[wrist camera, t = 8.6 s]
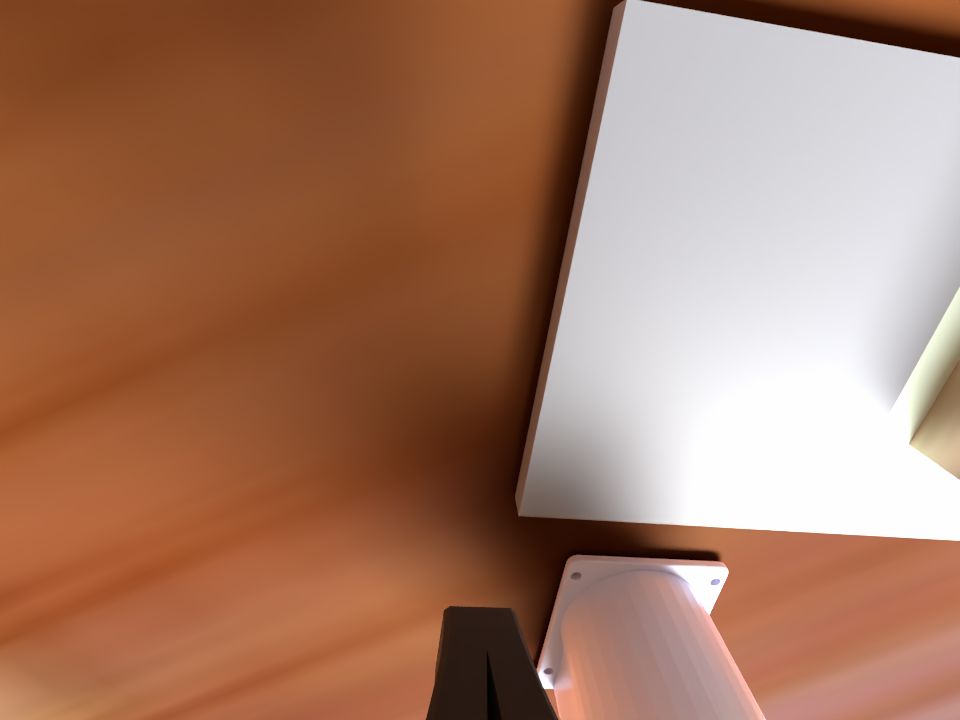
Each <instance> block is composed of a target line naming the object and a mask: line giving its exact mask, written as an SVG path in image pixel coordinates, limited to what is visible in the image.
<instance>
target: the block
mask: <svg viewBox="0 0 960 720" xmlns="http://www.w3.org/2000/svg"><path fill="white" fill-rule="evenodd" d="M909 446H911V447H912V448H914V449H915V450H917V451H918V452H920V453H921V454H923V455H924V456H925V457H927V458H928V459H930V460H931V461H933V462H934V463H936V464H937V465H939V466H940V467H941V468H943V469H944V470H946V471H947V472H949V473H950V474H952V475H953V476H955V477H956V478H957V479H959V480H960V359H959V361H958V363H957V364H956V366H955V368H954V369H953V371H952V373H951V374H950V376H949V378H948V379H947V381H946V383H945V385H944V386H943V388H942V390H941V391H940V393H939V395H938V396H937V398H936V400H935V402H934V403H933V405H932V407H931V408H930V410H929V412H928V413H927V415H926V417H925V419H924V420H923V422H922V424H921V425H920V427H919V429H918V430H917V432H916V434H915V435H914V437H913V439H912V441H911V442H910V444H909Z"/></svg>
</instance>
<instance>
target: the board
mask: <svg viewBox="0 0 960 720" xmlns="http://www.w3.org/2000/svg"><path fill="white" fill-rule="evenodd" d="M959 359H960V58H958V57H952V56H947V55H941V54H936V53H930V52H925V51H919V50H914V49H908V48H902V47H897V46H891V45H886V44H880V43H875V42H869V41H863V40H858V39H852V38H847V37H841V36H836V35H830V34H824V33H819V32H813V31H808V30H802V29H797V28H791V27H786V26H780V25H774V24H769V23H763V22H758V21H752V20H747V19H741V18H735V17H730V16H724V15H719V14H713V13H708V12H702V11H697V10H691V9H685V8H680V7H674V6H669V5H663V4H658V3H652V2H646V1H641V0H624V1H622V2H621V3H619V4H618V5H617V6H615V7H614V8H613V13H612V18H611V22H610V27H609V32H608V37H607V42H606V47H605V52H604V57H603V62H602V67H601V72H600V77H599V82H598V87H597V92H596V97H595V102H594V107H593V112H592V117H591V122H590V127H589V132H588V137H587V142H586V147H585V152H584V156H583V161H582V166H581V171H580V176H579V181H578V186H577V191H576V196H575V201H574V206H573V211H572V216H571V221H570V226H569V231H568V236H567V241H566V246H565V251H564V256H563V261H562V266H561V271H560V276H559V281H558V286H557V290H556V295H555V300H554V305H553V310H552V315H551V320H550V325H549V330H548V335H547V340H546V345H545V350H544V355H543V360H542V365H541V370H540V375H539V380H538V385H537V390H536V395H535V400H534V405H533V410H532V415H531V419H530V424H529V429H528V434H527V439H526V444H525V449H524V454H523V459H522V464H521V469H520V474H519V479H518V484H517V489H516V494H515V500H516V505H517V510H518V515H519V516H528V517H546V518H564V519H582V520H600V521H618V522H636V523H654V524H672V525H690V526H708V527H726V528H744V529H762V530H780V531H798V532H816V533H834V534H852V535H870V536H888V537H906V538H924V539H942V540H960V480H959V479H957V478H956V477H955V476H953V475H952V474H950V473H949V472H947V471H946V470H944V469H943V468H941V467H940V466H939V465H937V464H936V463H934V462H933V461H931V460H930V459H928V458H927V457H925V456H924V455H923V454H921V453H920V452H918V451H917V450H915V449H914V448H912V447H911V446H909V444H910V442H911V441H912V439H913V437H914V435H915V434H916V432H917V430H918V429H919V427H920V425H921V424H922V422H923V420H924V419H925V417H926V415H927V413H928V412H929V410H930V408H931V407H932V405H933V403H934V402H935V400H936V398H937V396H938V395H939V393H940V391H941V390H942V388H943V386H944V385H945V383H946V381H947V379H948V378H949V376H950V374H951V373H952V371H953V369H954V368H955V366H956V364H957V363H958V361H959Z"/></svg>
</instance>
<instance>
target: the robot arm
mask: <svg viewBox="0 0 960 720" xmlns="http://www.w3.org/2000/svg"><path fill="white" fill-rule="evenodd" d="M575 572H577V573H575ZM727 575H728V569H727V567H726V566H725V564H724V563H722V562H719V561H698V560H677V559H656V558H634V557H613V556H592V555H574V556H571V557H570V558H569V559H568V560H567V562H566V565H565V569H564V572H563V576H562V580H561V583H560V587H559V591H558V594H557V598H556V601H555V605H554V609H553V612H552V616H551V620H550V623H549V627H548V630H547V634H546V638H545V641H544V645H543V649H542V652H541V656H540V659H539V663H538V667H537V670H536V668H535V666H534V663H533V661H532V658H531V656H530V653H529V651H528V648H527V645H526V643H525V640H524V637H523V634H522V632H521V629H520V626H519V623H518V620H517V617H516V613H515V612H514V611H513V610H512V609H511V608H487V607H458V606H450V607H448V608H447V609H445V610H444V614H443V621H442V628H441V635H440V642H439V649H438V656H437V663H436V671H435V685H434V689H433V694H432V698H431V702H430V706H429V710H428V714H427V718H426V720H558V718H557V716H556V714H555V712H554V709H553V707H552V705H551V703H550V701H549V699H548V696H547V694H546V692H545V689H544V688H548V689H554V692H555V697H556V702H557V708H558V713H559V718H560V720H766V719H765V717H764V715H763V713H762V712H761V710H760V708H759V706H758V704H757V702H756V701H755V699H754V697H753V695H752V693H751V691H750V689H749V688H748V686H747V684H746V682H745V680H744V678H743V676H742V675H741V673H740V671H739V669H738V667H737V665H736V664H735V662H734V660H733V658H732V656H731V654H730V652H729V651H728V649H727V647H726V645H725V643H724V641H723V639H722V638H721V636H720V634H719V632H718V630H717V628H716V627H715V625H714V623H713V621H712V619H711V617H710V615H709V614H710V611H711V609H712V607H713V605H714V603H715V601H716V599H717V596H718V594H719V592H720V590H721V588H722V586H723V584H724V582H725V579H726V577H727Z"/></svg>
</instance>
